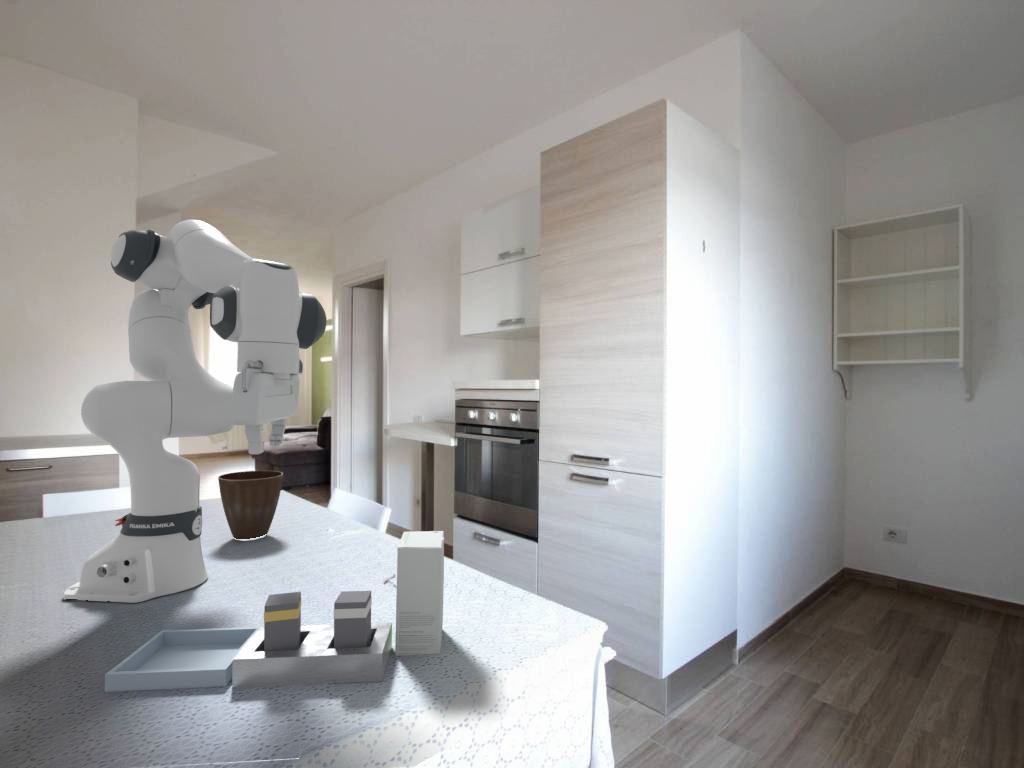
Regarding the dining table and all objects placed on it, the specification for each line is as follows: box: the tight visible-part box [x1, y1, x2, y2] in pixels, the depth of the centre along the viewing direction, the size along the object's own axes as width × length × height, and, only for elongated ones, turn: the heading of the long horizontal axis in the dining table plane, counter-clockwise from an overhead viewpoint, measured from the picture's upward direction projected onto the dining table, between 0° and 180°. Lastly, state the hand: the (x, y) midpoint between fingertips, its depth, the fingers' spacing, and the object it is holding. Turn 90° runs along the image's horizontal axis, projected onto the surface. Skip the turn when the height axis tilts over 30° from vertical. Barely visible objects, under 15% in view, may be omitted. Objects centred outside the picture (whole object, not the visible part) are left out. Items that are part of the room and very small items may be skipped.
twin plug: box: [333, 590, 373, 648], centre depth 70 cm, size 4×4×9 cm
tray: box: [104, 626, 262, 693], centre depth 70 cm, size 14×12×3 cm
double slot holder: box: [231, 622, 393, 689], centre depth 70 cm, size 18×9×4 cm, turn 95°
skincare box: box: [394, 530, 445, 656], centre depth 77 cm, size 8×7×16 cm
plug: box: [263, 591, 302, 651], centre depth 70 cm, size 4×4×9 cm
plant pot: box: [217, 470, 284, 539], centre depth 135 cm, size 15×15×16 cm
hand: (266, 449), depth 84 cm, fingers open, 8 cm apart
